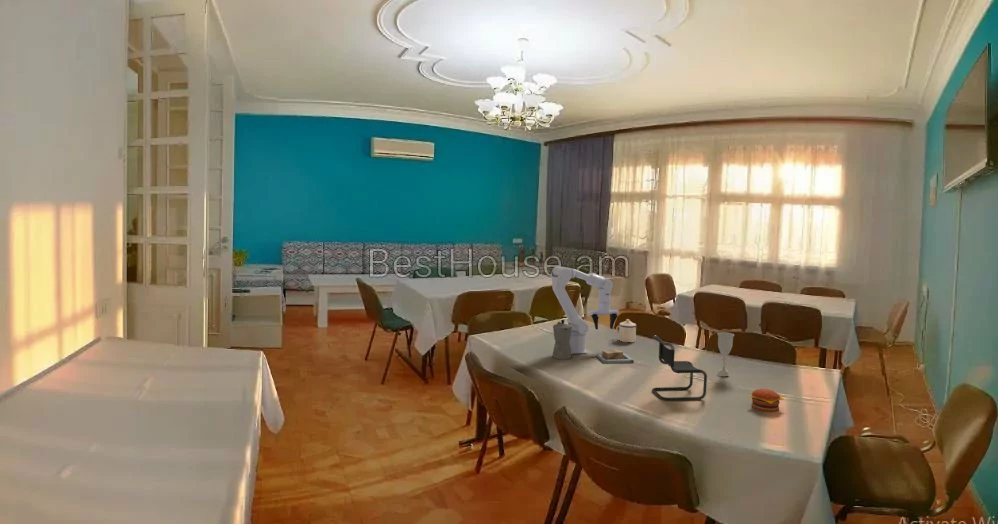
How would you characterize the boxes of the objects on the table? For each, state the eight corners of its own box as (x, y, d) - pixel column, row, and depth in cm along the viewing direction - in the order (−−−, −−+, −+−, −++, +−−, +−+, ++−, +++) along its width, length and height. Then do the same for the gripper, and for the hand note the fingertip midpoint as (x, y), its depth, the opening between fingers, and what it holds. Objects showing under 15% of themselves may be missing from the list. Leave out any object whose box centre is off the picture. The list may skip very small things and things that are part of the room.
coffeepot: (575, 360, 265) (576, 322, 264) (555, 361, 264) (556, 322, 262) (566, 352, 281) (567, 316, 279) (548, 352, 279) (549, 316, 278)
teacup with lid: (639, 341, 305) (640, 319, 304) (628, 343, 300) (629, 321, 298) (621, 337, 315) (622, 316, 313) (610, 339, 309) (611, 318, 308)
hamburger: (759, 401, 213) (760, 384, 212) (784, 409, 205) (786, 391, 205) (745, 406, 207) (746, 388, 207) (770, 414, 200) (772, 396, 199)
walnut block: (607, 361, 265) (607, 353, 265) (602, 359, 270) (602, 350, 269) (622, 360, 268) (622, 352, 267) (616, 357, 272) (617, 349, 272)
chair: (648, 389, 225) (651, 334, 222) (691, 389, 226) (694, 334, 224) (661, 401, 212) (664, 343, 210) (706, 400, 213) (709, 342, 211)
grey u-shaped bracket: (604, 363, 262) (604, 360, 262) (596, 356, 274) (596, 353, 274) (633, 362, 263) (633, 360, 263) (624, 355, 276) (624, 353, 276)
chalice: (733, 378, 241) (735, 336, 239) (716, 377, 243) (718, 335, 241) (730, 373, 248) (732, 332, 247) (713, 372, 250) (715, 331, 248)
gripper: (615, 300, 290) (615, 326, 291) (588, 301, 288) (587, 327, 289) (620, 302, 283) (619, 329, 284) (591, 303, 281) (591, 330, 282)
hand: (603, 328), depth 286 cm, fingers open, 7 cm apart
